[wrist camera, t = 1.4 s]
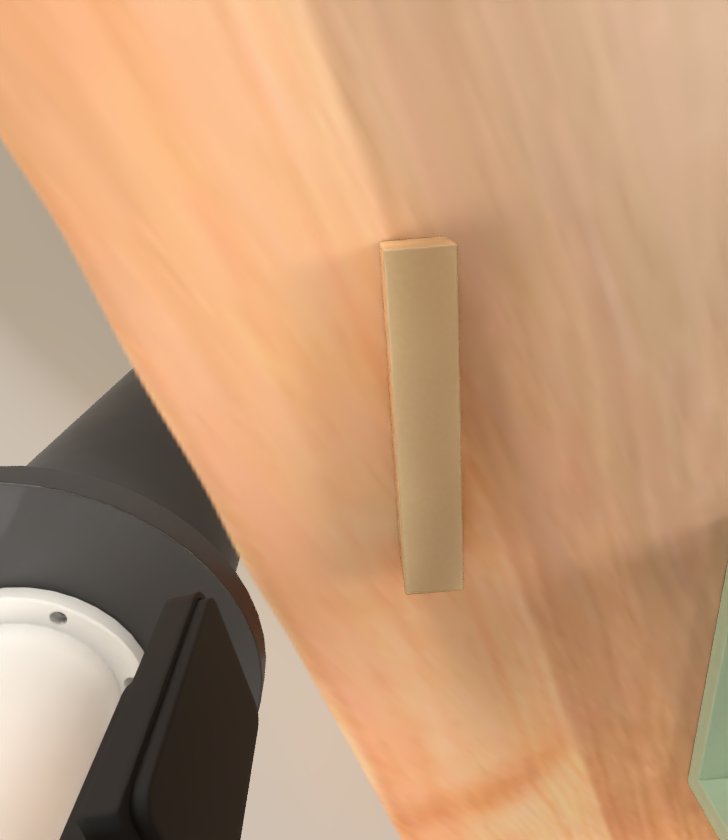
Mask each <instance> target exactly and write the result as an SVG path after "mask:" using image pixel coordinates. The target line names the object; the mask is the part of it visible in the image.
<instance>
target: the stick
mask: <svg viewBox="0 0 728 840" xmlns="http://www.w3.org/2000/svg"><path fill="white" fill-rule="evenodd" d="M379 245H380V260H381V275H382V291H383V306H384V321H385V336H386V351H387V366H388V381H389V396H390V411H391V426H392V441H393V456H394V471H395V486H396V501H397V516H398V531H399V546H400V559H401V566H402V573H403V580H404V587H405V593H406V594H407V595H409V594H421V593H433V592H445V591H457V590H463V589H464V572H463V518H462V464H461V411H460V357H459V303H458V249H457V244H456V243H454V242H453V241H451V240H450V239H448V238H446V237H445V236H440V237H428V238H416V239H405V240H393V241H381V242H380V244H379Z"/></svg>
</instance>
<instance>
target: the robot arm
mask: <svg viewBox="0 0 728 840" xmlns="http://www.w3.org/2000/svg"><path fill="white" fill-rule="evenodd" d="M257 730H258V710H257V706H256V703H255V700H254V697H253V695H252V692H251V690H250V687H249V685H248V682H247V680H246V677H245V674H244V672H243V669H242V667H241V664H240V662H239V659H238V656H237V654H236V651H235V649H234V646H233V644H232V641H231V639H230V636H229V633H228V631H227V628H226V626H225V623H224V621H223V618H222V615H221V613H220V610H219V608H218V605H217V603H216V601H215V600H214V598H207V599H206V597H205V596H204V594H203V593H202V592H195V593H190V594H185V595H180V596H175V597H170V598H169V599H167V601H166V603H165V605H164V607H163V609H162V612H161V614H160V617H159V619H158V621H157V624H156V626H155V628H154V631H153V633H152V636H151V638H150V640H149V643H148V645H147V647H146V650H145V652H144V651H143V649H142V648H141V647H140V645H139V644H138V643H137V641H136V640H135V639H134V637H133V636H132V635H131V634H130V633H129V632H128V631H127V630H126V629H125V628H124V627H123V626H122V625H121V624H120V623H119V622H117V621H116V620H115V619H114V618H112V617H111V616H109V615H108V614H106V613H104V612H103V611H101V610H100V609H98V608H97V607H95V606H93V605H90V604H88V603H86V602H84V601H82V600H79V599H77V598H75V597H72V596H68V595H65V594H61V593H58V592H55V591H50V590H43V589H36V588H29V587H15V588H0V840H240V838H241V832H242V826H243V819H244V813H245V807H246V801H247V794H248V788H249V782H250V775H251V769H252V762H253V756H254V749H255V744H256V737H257Z"/></svg>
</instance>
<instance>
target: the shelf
mask: <svg viewBox="0 0 728 840" xmlns="http://www.w3.org/2000/svg"><path fill="white" fill-rule="evenodd" d="M690 766H691V767H690V771H689V776H688V784H689V786H690V788H691V790H692V792H693V793H694V795H695V797H696V799H697V800H698V802H699V804H700V806H701V808H702V809H703V811H704V813H705V815H706V816H707V818H708V820H709V822H710V824H711V825H712V827H713V829H714V831H715V832H716V834H717V836H718V838H719V840H728V564H727V569H726V575H725V580H724V586H723V591H722V596H721V602H720V607H719V613H718V618H717V624H716V629H715V634H714V640H713V645H712V651H711V656H710V662H709V667H708V672H707V678H706V683H705V689H704V694H703V700H702V705H701V710H700V716H699V721H698V727H697V732H696V738H695V743H694V748H693V754H692V759H691V765H690Z"/></svg>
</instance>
